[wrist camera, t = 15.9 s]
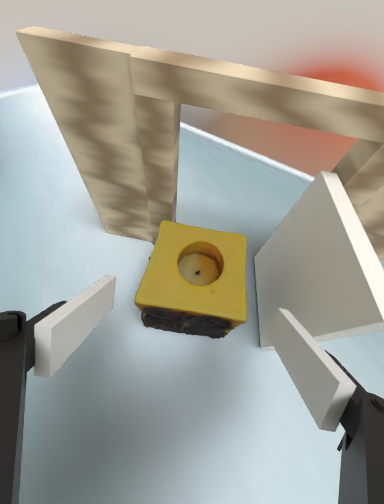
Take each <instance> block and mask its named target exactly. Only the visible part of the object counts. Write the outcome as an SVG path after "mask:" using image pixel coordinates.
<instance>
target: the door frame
mask: <svg viewBox="0 0 384 504" xmlns="http://www.w3.org/2000/svg"><path fill="white" fill-rule="evenodd" d="M15 33H16V35H17V37H18V39H19V41H20V44H21V46H22V48H23V50H24V52H25V55H26V57H27V59H28V61H29V63H30V65H31V68H32V70H33V72H34V74H35V76H36V78H37V81H38V83H39V85H40V87H41V90H42V92H43V94H44V96H45V98H46V100H47V103H48V105H49V107H50V109H51V111H52V114H53V116H54V118H55V120H56V122H57V124H58V127H59V129H60V131H61V133H62V135H63V138H64V140H65V142H66V144H67V146H68V148H69V151H70V153H71V155H72V157H73V159H74V162H75V164H76V166H77V168H78V170H79V173H80V175H81V177H82V179H83V181H84V183H85V186H86V188H87V190H88V192H89V194H90V197H91V199H92V201H93V203H94V205H95V207H96V210H97V212H98V214H99V216H100V218H101V221H102V223H103V225H104V227H105V229H106V231H107V233H111V234H116V235H121V236H126V237H131V238H136V239H141V240H146V241H151V242H153V245H155V243H156V241H157V239H158V233H159V228H160V223H161V222H162V221H164V220H166V221H171V222H175V223H176V201H177V178H178V155H179V132H180V109H181V103H182V104H187V105H192V106H197V107H203V108H208V109H213V110H218V111H224V112H228V113H233V114H238V115H243V116H249V117H253V118H258V119H264V120H269V121H274V122H279V123H284V124H289V125H294V126H299V127H305V128H310V129H315V130H320V131H325V132H330V133H335V134H340V135H345V136H350V137H356V138H359V139H358V140H357V141H356V143H355V144H354V145H353V146H352V147H351V149H350V150H349V151H348V152H347V154H346V155H345V156H344V157H343V158H342V160H341V161H340V162H339V163H338V164H337V166H336V167H335V168H334V169H333V170H332V173H337V175H338V177H339V179H340V181H341V183H342V185H343V187H344V190H345V192H346V194H347V196H348V198H349V200H350V202H351V204H352V206H353V208H354V210H355V212H356V214H357V216H358V218H359V220H360V222H361V224H362V226H363V228H364V231H365V233H366V235H367V237H368V239H369V241H370V243H371V245H372V247H373V249H374V251H375V253H376V255H377V257H378V259H379V260H381V259H383V258H384V93H382V92H377V91H372V90H367V89H362V88H357V87H351V86H346V85H342V84H336V83H331V82H326V81H321V80H316V79H311V78H306V77H301V76H295V75H290V74H286V73H280V72H276V71H270V70H265V69H260V68H255V67H250V66H245V65H240V64H235V63H230V62H224V61H219V60H214V59H209V58H204V57H199V56H194V55H189V54H184V53H179V52H174V51H169V50H163V49H158V48H153V47H148V46H142V47H138V46H133V45H128V44H122V43H118V42H113V41H108V40H102V39H97V38H92V37H87V36H82V35H77V34H72V33H67V32H62V31H57V30H52V29H46V28H41V27H36V26H31V27H28V28H24V29H21V30H17V31H15Z"/></svg>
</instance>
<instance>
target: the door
mask: <svg viewBox="0 0 384 504" xmlns="http://www.w3.org/2000/svg"><path fill="white" fill-rule="evenodd" d="M254 260H255V274H256V288H257V303H258V317H259V331H260V345H261V348H262V349H268V350H275V348H274V346H273V344H272V343H271V341H270V339H269V335H270V332H271V329H272V326H273V323H274V320H275V317H276V313H277V310H278V308H281V309H286V310H288V311H289V312H290V313H291V314H292V315H293V316H294V317H295V318H296V320H297V321H298V322H299V323H300V324H301V325H302V326H303V327H304V328H305V329H306V331H307V332H308V333H309V334H310V335H311V336H312V337H313V338H314V339H315V341H316V342H321V341H327V340H332V339H338V338H343V337H349V336H355V335H360V334H366V333H372V332H377V331H383V330H384V269H383V267H382V265H381V263H380V261H379V259H378V257H377V255H376V253H375V251H374V249H373V247H372V245H371V243H370V241H369V239H368V237H367V235H366V233H365V231H364V228H363V226H362V224H361V222H360V220H359V218H358V216H357V214H356V212H355V210H354V208H353V206H352V204H351V202H350V200H349V198H348V196H347V194H346V192H345V190H344V187H343V185H342V183H341V181H340V179H339V177H338V175H337V173H332V172H326V171H320V173H319V174H318V175H317V176H316V178H315V179H314V180H313V182H312V183H311V184H310V186H309V187H308V188H307V189H306V191H305V192H304V193H303V195H302V196H301V197H300V199H299V200H298V201H297V202H296V204H295V205H294V206H293V208H292V209H291V210H290V212H289V213H288V214H287V216H286V217H285V218H284V219H283V221H282V222H281V223H280V225H279V226H278V227H277V229H276V230H275V231H274V232H273V234H272V235H271V236H270V238H269V239H268V240H267V242H266V243H265V244H264V245H263V247H262V248H261V249H260V251H259V252H258V253H257V255H256V256H255V257H254Z"/></svg>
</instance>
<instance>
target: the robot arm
mask: <svg viewBox="0 0 384 504" xmlns="http://www.w3.org/2000/svg"><path fill="white" fill-rule="evenodd" d="M115 283H116V277H115V276H110V275H106V276H104V277H103V278H101V279H100V280H99V281H97V282H96V283H94V284H93V285H91V286H90V287H88V288H87V289H86V290H84V291H83V292H81V293H80V294H78V295H77V296H75V297H74V298H73V299H71V300H70V301H68V302H67V301H61V302H59V303H56V304H53V305H52V306H50V307H49V308H47V309H46V310H44V311H42V312H41V313H40V314H38V315H36V316H35V317H33V318H31V319H30V320H28V321H27V322H26V314H25V313H23V312H21V311H6V312H1V313H0V504H18V503H19V488H20V472H21V457H22V441H23V426H24V410H25V395H26V379H27V372H28V371H29V370H30V369H31V368H32V367H33V366H34V375H35V376H40V377H45V378H51V377H52V376H53V375H54V373H55V372H56V371H57V370H58V369H59V368H60V367H61V366H62V364H63V363H64V362H65V361H66V360H67V359H68V358H69V357H70V355H71V354H72V353H73V352H74V351H75V350H76V349H77V348H78V346H79V345H80V344H81V343H82V342H83V341H84V340H85V339H86V337H87V336H88V335H89V334H90V333H91V332H92V331H93V330H94V328H95V327H96V326H97V325H98V324H99V323H100V322H101V321H102V319H103V318H104V317H105V316H106V315H107V314H108V313H109V312H110V310H111V309H112V308H113V302H114V292H115ZM269 339H270V341H271V343H272V344H273V346H274V348H275V350H276V352H277V354H278V355H279V357H280V359H281V361H282V363H283V364H284V366H285V368H286V370H287V372H288V373H289V375H290V377H291V379H292V381H293V382H294V384H295V386H296V388H297V390H298V391H299V393H300V395H301V397H302V399H303V400H304V402H305V404H306V406H307V408H308V409H309V411H310V413H311V415H312V417H313V419H314V420H315V422H316V424H317V426H318V428H319V429H321V430H327V431H332V432H335V431H336V429H337V427H338V425H339V422H340V423H341V425H342V426H343V428H344V429H345V431H346V432H345V434H344V436H343V438H342V440H341V442H340V444H339V446H338V448H337V450H339V451H340V450H341V449H342V456H341V470H340V484H339V498H338V504H384V399H383V398H381V397H379V396H377V395H375V394H372V393H368V392H367V391H366V390H365V389H364V388H363V387H362V386H361V385H360V384H359V383H358V382H357V381H356V380H355V379H354V377H353V376H352V375H351V374H350V373H349V372H347V370H346V369H345V368H344V367H343V366H342V365H341V363H340V362H339V361H338V360H337V359H336V358H335V357H334V356H332V355H331V354H330V353H328V352H327V351H326V350H324V349H323V348H322V347H321V346H320V345H319V344H318V343H317V342H316V341H315V339H314V338H313V337H312V336H311V335H310V334H309V333H308V332H307V331H306V329H305V328H304V327H303V326H302V325H301V324H300V323H299V322H298V321H297V320H296V318H295V317H294V316H293V315H292V314H291V313H290V312H289V311H288V310H286V309H281V308H278V310H277V313H276V317H275V320H274V323H273V326H272V329H271V332H270V335H269Z"/></svg>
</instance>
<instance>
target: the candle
mask: <svg viewBox="0 0 384 504" xmlns="http://www.w3.org/2000/svg"><path fill="white" fill-rule="evenodd" d="M135 305H136V306H137V307H139V310H140V311H142V314H141V315H142V318H141V319H142V321H143V324H144V326H145V327H153V328H155V329H162V330H164V331H172V332H176V333H186V334H187V335H188V334H191V335H201V336H209V337H211V338H213V339H214V338H218V339H219V338H220V337H222V338H223V337H225V335H227V334H228V333H229V332H230V331H231V330H233V329H234V328H235V327H237V326H239V325H240V324H243V323H244V322H246V315H247V295H246V237H245V236H244V235H241V234H236V233H229V232H221V231H215V230H210V229H205V228H199V227H194V226H188V225H184V224H180V223H175V222H171V221H166V220H164V221H162V222H161V223H160V228H159V233H158V239H157V241H156V243H155V246H154V249H153V252H152V255H151V256H150V258H149V264H148V266H147V269H146V271H145V273H144V276H143V278H142V281H141V283H140V286H139V289H138V291H137V294H136V296H135Z"/></svg>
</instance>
